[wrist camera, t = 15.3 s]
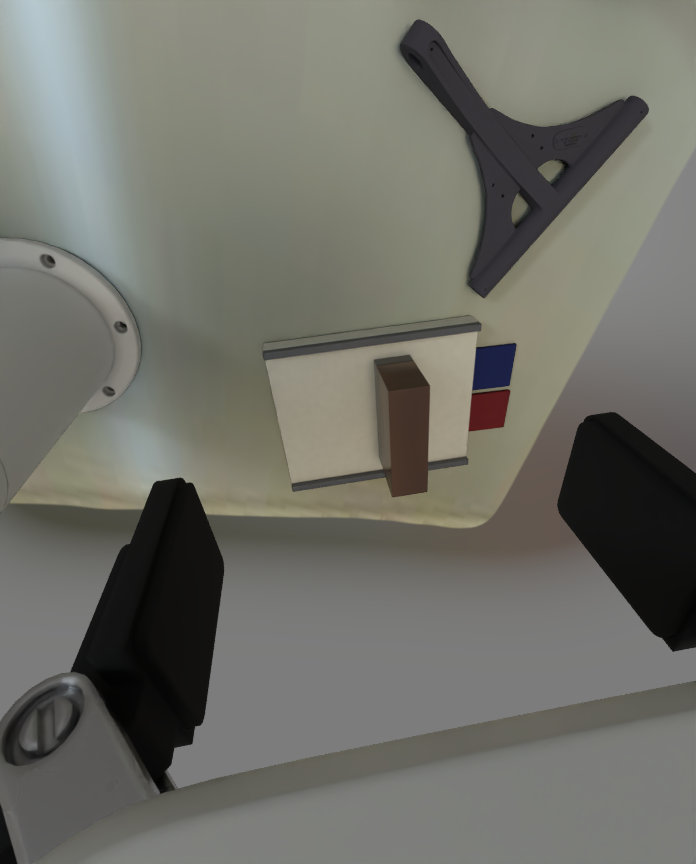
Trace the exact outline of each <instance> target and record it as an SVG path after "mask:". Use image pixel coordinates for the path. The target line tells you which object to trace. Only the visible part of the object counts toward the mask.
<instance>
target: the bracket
mask: <svg viewBox="0 0 696 864" xmlns="http://www.w3.org/2000/svg"><path fill="white" fill-rule="evenodd" d="M400 50H401V53H402V55H403V57H404V58H405V60H406V61H407V63H408V64H409V65H410V66H411V68H412V69H413V70H414V71H415V73H416V74H417V75H418V76H419V77H420V78H421V80H422V81H423V82H424V83H425V84H426V85H427V87H428V88H429V89H430V90H431V91H432V92H433V94H434V95H435V96H436V97H437V98H438V99H439V100H440V102H441V103H442V104H443V105H444V106H445V107H446V109H447V110H448V111H449V112H450V113H451V114H452V116H453V117H454V118H455V119H456V120H457V121H458V123H459V124H460V125H461V126H462V127H463V128H464V130H465V131H466V132H467V133H468V134H469V135H470V136H469V139H470V142H471V144H472V147H473V149H474V151H475V154H476V157H477V159H478V162H479V165H480V169H481V173H482V178H483V183H484V188H485V219H484V227H483V233H482V238H481V243H480V247H479V250H478V253H477V257H476V259H475V262H474V265H473V268H472V270H471V273H470V277H471V278H472V281H471V282H470V283H469V284H468V285H469V286H470V287H471V288H472V289H473V290H474V291H475V292H476V293H478V294H479V295H480V296H481V297H483V298H485V297H486V296H487V295H488V294H489V292H490V291H491V290H492V289H493V288H494V287H495V286H496V285H497V283H498V282H499V281H500V280H501V279H502V278H503V277H504V276H505V274H506V273H507V272H508V271H509V270H510V269H511V268H512V266H513V265H514V264H515V263H516V262H517V261H518V260H519V259H520V257H521V256H522V255H523V254H524V253H525V252H526V251H527V250H528V248H529V247H530V246H531V245H532V244H533V243H534V242H535V241H536V239H537V238H538V237H539V236H540V235H541V234H542V233H543V231H544V230H545V229H546V228H547V227H548V226H549V225H550V224H551V222H552V221H553V220H554V219H555V218H556V217H557V216H558V215H559V213H560V212H561V211H562V210H563V209H564V208H565V207H566V206H567V204H568V203H569V202H570V201H571V200H572V199H573V198H574V196H575V195H576V194H577V193H578V192H579V191H580V190H581V189H582V187H583V186H584V185H585V184H586V183H587V182H588V181H589V180H590V178H591V177H592V176H593V175H594V174H595V173H596V172H597V171H598V169H599V168H600V167H601V166H602V165H603V164H604V163H605V161H606V160H607V159H608V158H609V157H610V156H611V155H612V154H613V152H614V151H615V150H616V149H617V148H618V147H619V146H620V145H621V143H622V142H623V141H624V140H625V139H626V138H627V137H628V136H629V134H630V133H631V132H632V131H633V130H634V129H635V128H636V126H637V125H638V124H639V123H640V122H641V121H642V120H643V119H644V117H645V116H646V115H647V114H648V111H649V108H648V106H647V104H646V103H645V102H644V101H643V100H642V99H641V98H639V97H636V96H630V97H628V98H627V100H626V101H625V102H624V101H623V100H622V99H621V100H618V101H616V102H614V103H613V104H611V105H609V106H607V107H606V108H604V109H602V110H600V111H599V112H597V113H595V114H593V115H591V116H588V117H586V118H584V119H581V120H579V121H576V122H573V123H569V124H565V125H560V126H551V127H537V126H533V125H528V124H524V123H521V122H518V121H515V120H513V119H511V118H509V117H507V116H505V115H504V114H502V113H500V112H499V111H497V110H495V109H493V108H491V109H489V108H488V107H487V105H486V104H485V102H484V101H483V100H482V98H481V97H480V96H479V94H478V93H477V91H476V90H475V88H474V87H473V85H472V83H471V82H470V80H469V79H468V77H467V76H466V74H465V73H464V71H463V70H462V68H461V67H460V65H459V64H458V62H457V61H456V59H455V57H454V56H453V54H452V53H451V51H450V49H449V48H448V46H447V44H446V42H445V41H444V39H443V38H442V36H441V35H440V34H439V32H438V31H436V30H435V29H434V28H433V27H432V26H431V25H429V24H428V23H426V22H425V21H422V20H416V21H415V22H414V23H413V25H412V26H411V28H410V30H409V31H408V33H407V34H406V36H405V38H404V39H403V41H402V42H401V44H400ZM531 135H532V136H531ZM553 159H559V160H562V161H564V162H565V163H567V164H568V165H569V167H568V168H567V170H566V171H565V172H564V173H563V174H562V175H561V177H560V178H559V179H558V180H557V181H556V182H555V183H554V184H553V186H551V185H550V183H549V182H548V181H547V180H546V179H545V178H544V177H543V176H542V174H541V173H540V172H539V171H538V170H537V169H538V167H539V166H541V165H542V164H543V163H545V162H547V161H549V160H553ZM518 192H519V194H520V195H521V196H522V197H523V198H524V199H525V201H526V202H527V203H528V204H529V205H530V207H531V211H530V212H529V214H528V215H527V216H526V217H525V219H524V220H523V221H522V222H521V223H520V225H519V226H518V227H517V228H516V229H515V227H514V225H513V222H512V218H511V209H512V204H513V201H514V198H515V196H516V194H517V193H518ZM501 195H502V196H501Z"/></svg>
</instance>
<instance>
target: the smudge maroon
mask: <svg viewBox="0 0 696 864" xmlns="http://www.w3.org/2000/svg"><path fill="white" fill-rule="evenodd" d="M509 395H510V390H501V391H492V392H484V393H475V394H472V397H471V407H470V418H469V429H468V431H476V430H484V429H492V428H500V427H504V421H505V416H506V411H507V405H508V400H509Z"/></svg>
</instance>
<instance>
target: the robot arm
mask: <svg viewBox="0 0 696 864" xmlns="http://www.w3.org/2000/svg"><path fill="white" fill-rule="evenodd" d="M50 256H51V257H53V259H54V260H55V262H53V261H52V260H51V259H50ZM121 322H123V323H125V324H126V326H123V325H122V324H121ZM140 357H141V342H140V334H139V331H138V328H137V325H136V322H135V319H134V317H133V315H132V313H131V311H130V309H129V307H128V306H127V304H126V302H125V301H124V299H123V298H122V297H121V295H120V294H119V293H118V292H117V290H116V289H115V288H114V286H113V285H112V284H110V283H109V282H108V281H107V280H106V279H105V278H104V277H103V276H102V275H101V274H100V273H99V272H98V271H96V270H95V269H94V268H92V267H91V266H89V265H88V264H87V263H85V262H84V261H82V260H81V259H79V258H77V257H75V256H73V255H71V254H69V253H68V252H66V251H64V250H62V249H59V248H57V247H54V246H51V245H48V244H45V243H42V242H38V241H32V240H27V239H21V238H0V514H1V512H2V511H3V510H4V509H5V507H6V506H7V505H8V503H9V502H10V501H11V500H12V498H13V497H14V496H15V494H16V493H17V492H18V491H19V489H20V488H21V487H22V486H23V484H24V483H25V482H26V480H27V479H28V478H29V477H30V475H31V474H32V473H33V471H34V470H35V469H36V468H37V466H38V465H39V464H40V463H41V461H42V460H43V459H44V457H45V456H46V455H47V454H48V452H49V451H50V450H51V449H52V447H53V446H54V445H55V443H56V442H57V441H58V440H59V438H60V437H61V436H62V434H63V433H64V432H65V431H66V429H67V428H68V427H69V426H70V424H71V423H72V422H73V420H74V419H75V418H76V417H77V415H78V414H79V413H84V412H88V411H93V410H97V409H99V408H101V407H104V406H106V405H108V404H110V403H111V402H113V401H114V400H116V399H117V398H118V397H120V396H121V395H122V394H123V392H124V391H125V390H126V389H127V388H128V387H129V385H130V384H131V382H132V380H133V379H134V377H135V376H136V373H137V370H138V367H139V364H140ZM110 387H111V388H110ZM112 388H113V389H112ZM557 505H558V511H559V513H560V515H561V517H562V518H563V519H564V521H565V522H566V523H567V524H568V526H569V527H570V528H571V530H572V531H573V532H574V533H575V535H576V536H577V537H578V538H579V540H580V541H581V542H582V544H583V545H584V546H585V548H586V549H587V550H588V551H589V553H590V554H591V555H592V557H593V558H594V559H595V560H596V562H597V563H598V564H599V566H600V567H601V568H602V569H603V571H604V572H605V573H606V575H607V576H608V577H609V578H610V580H611V581H612V582H613V583H614V585H615V586H616V587H617V589H618V590H619V591H620V592H621V593H622V595H623V596H624V598H625V599H626V600H627V601H628V603H629V604H630V605H631V607H632V608H633V609H634V610H635V612H636V613H637V614H638V616H640V618H641V619H642V621H643V622H644V623H645V625H646V626H647V627H648V628H649V630H650V631H651V632H652V633H653V634H654V635H656V636H658V637H660V638H662V639H663V640H664V641H665V642H666V644H667V645H668V646H669V647H670V649H671V650H672V651H673V652H674V651H679V650H683V649H689V648H694V647H696V473H694V472H693V471H692V470H691V469H689V468H688V467H687V466H686V465H684V464H683V463H682V462H680V461H679V460H678V459H676V458H675V457H674V456H672V455H671V454H670V453H668V452H667V451H666V450H665V449H663V448H662V447H661V446H659V445H658V444H657V443H655V442H654V441H653V440H651V439H650V438H649V437H648V436H646V435H645V434H644V433H642V432H641V431H640V430H638V429H637V428H636V427H634V426H633V425H632V424H630V423H629V422H628V421H627V420H625V419H624V418H623V417H621V416H620V415H619V414H617V413H615V412H609V413H602V414H596V415H590V416H587V417H586V418H585V419H584V422H583V423H581V424H580V425H579V427H578V429H577V432H576V436H575V440H574V444H573V447H572V451H571V455H570V458H569V462H568V466H567V469H566V473H565V477H564V480H563V484H562V488H561V491H560V495H559V499H558V504H557ZM223 576H224V562H223V558H222V555H221V553H220V550H219V548H218V545H217V542H216V540H215V537H214V535H213V532H212V530H211V527H210V525H209V522H208V520H207V517H206V514H205V512H204V509H203V507H202V504H201V502H200V499H199V497H198V494H197V492H196V489H195V487H194V485H193V484H192V483H186V482H185V481H184V479H183V478H175V479H169V480H162V481H156V482H155V483H154V484H153V486H152V489H151V491H150V494H149V497H148V499H147V502H146V504H145V507H144V509H143V512H142V515H141V517H140V520H139V523H138V525H137V528H136V530H135V533H134V535H133V538H132V540H131V543H130V544H128V545H125V546H124V547H123V548H122V549H121V550H120V552H119V554H118V556H117V559H116V561H115V564H114V566H113V568H112V571H111V573H110V576H109V578H108V581H107V583H106V586H105V588H104V591H103V593H102V595H101V598H100V600H99V603H98V605H97V608H96V610H95V613H94V615H93V618H92V620H91V623H90V625H89V628H88V630H87V632H86V635H85V637H84V640H83V642H82V645H81V647H80V649H79V652H78V655H77V657H76V659H75V662H74V664H73V667H72V669H71V672H70V673H61V674H58V675H55V676H53V677H50V678H48V679H46V680H44V681H42V682H40V683H39V684H37V685H36V686H34V687H32V688H31V689H30V690H28V691H27V692H26V693H25V694H24V695H23V696H22V697H21V698H19V699H18V700H17V701H16V702H15V703H14V704H13V706H12V707H11V708H10V709H9V710H8V712H7V713H6V714H5V715H4V717H3V718H2V720H1V722H0V864H696V681H693V682H687V683H683V684H677V685H672V686H667V687H662V688H656V689H652V690H646V691H641V692H636V693H631V694H625V695H620V696H615V697H610V698H604V699H600V700H594V701H589V702H584V703H579V704H575V705H569V706H564V707H559V708H554V709H549V710H544V711H539V712H533V713H528V714H524V715H518V716H514V717H508V718H504V719H498V720H494V721H488V722H483V723H478V724H473V725H468V726H463V727H458V728H453V729H448V730H443V731H438V732H433V733H428V734H423V735H418V736H413V737H408V738H404V739H399V740H394V741H389V742H384V743H379V744H374V745H369V746H364V747H360V748H354V749H349V750H345V751H340V752H335V753H330V754H325V755H320V756H315V757H310V758H305V759H301V760H296V761H292V762H287V763H283V764H278V765H274V766H269V767H265V768H260V769H256V770H252V771H247V772H242V773H238V774H234V775H229V776H224V777H220V778H215V779H212V780H208V781H204V782H200V783H197V784H193V785H190V786H186V787H183V788H179V789H178V787H177V786H176V784H175V782H174V781H173V779H172V777H171V776H170V774H169V772H168V771H167V769H168V768H169V766H170V765H171V763H172V758H173V752H174V748H175V747H181V746H186V745H191V744H192V743H193V736H194V729H195V726H200V725H201V724H202V723H203V719H204V716H205V709H206V702H207V694H208V687H209V679H210V672H211V665H212V658H213V650H214V642H215V635H216V628H217V621H218V612H219V606H220V598H221V591H222V584H223Z"/></svg>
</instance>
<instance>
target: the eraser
mask: <svg viewBox="0 0 696 864" xmlns="http://www.w3.org/2000/svg"><path fill="white" fill-rule="evenodd" d="M374 376H375V393H376V411H377V429H378V446H379V459H380V462H381V465H382V468H383V471H384V474H385V477H386V480H387V483H388V486H389V489H390V492H391V495H392V497H398V496H404V495H411V494H417V493H423V492H427V484H428V448H429V412H430V385H429V383H428V382H427V380H426V379H425V377H424V375H423V374H422V372H421V371H420V369H419V368H418V366H417V365H416V363H415V362H414V360H413V359H412V357H411V356H410V355H404V356H397V357H390V358H382V359H375V360H374Z"/></svg>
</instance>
